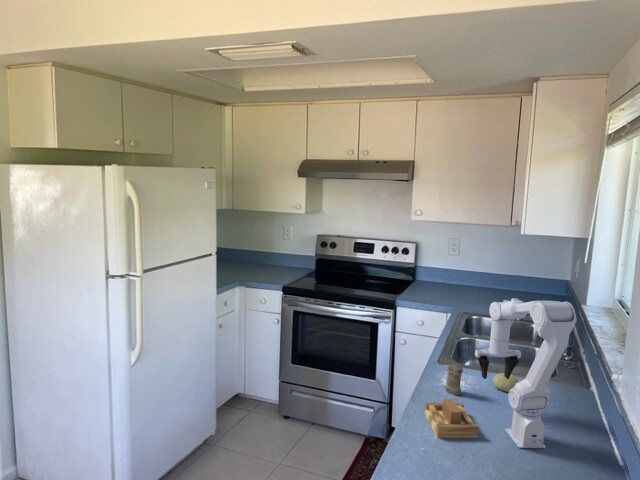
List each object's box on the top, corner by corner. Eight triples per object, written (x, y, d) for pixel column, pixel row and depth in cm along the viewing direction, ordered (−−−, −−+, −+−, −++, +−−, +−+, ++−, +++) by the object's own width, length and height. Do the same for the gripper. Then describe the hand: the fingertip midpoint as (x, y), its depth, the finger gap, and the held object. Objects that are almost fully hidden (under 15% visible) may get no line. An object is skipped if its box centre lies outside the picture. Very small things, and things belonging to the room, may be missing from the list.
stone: (448, 388, 177) (450, 361, 175) (462, 394, 172) (464, 366, 171) (443, 391, 174) (445, 364, 173) (457, 397, 170) (459, 369, 169)
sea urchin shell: (489, 384, 176) (494, 364, 180) (491, 393, 182) (496, 373, 186) (516, 392, 172) (521, 371, 175) (517, 400, 177) (522, 380, 181)
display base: (477, 437, 146) (478, 426, 145) (437, 437, 145) (438, 426, 144) (461, 413, 160) (462, 403, 159) (424, 413, 159) (425, 402, 158)
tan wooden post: (460, 426, 148) (461, 412, 147) (450, 426, 148) (451, 412, 147) (451, 412, 156) (452, 399, 155) (441, 412, 156) (442, 399, 155)
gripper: (515, 334, 165) (511, 372, 167) (473, 333, 164) (469, 372, 166) (525, 342, 158) (521, 382, 160) (481, 341, 157) (477, 381, 159)
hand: (495, 377), depth 163 cm, fingers open, 7 cm apart
